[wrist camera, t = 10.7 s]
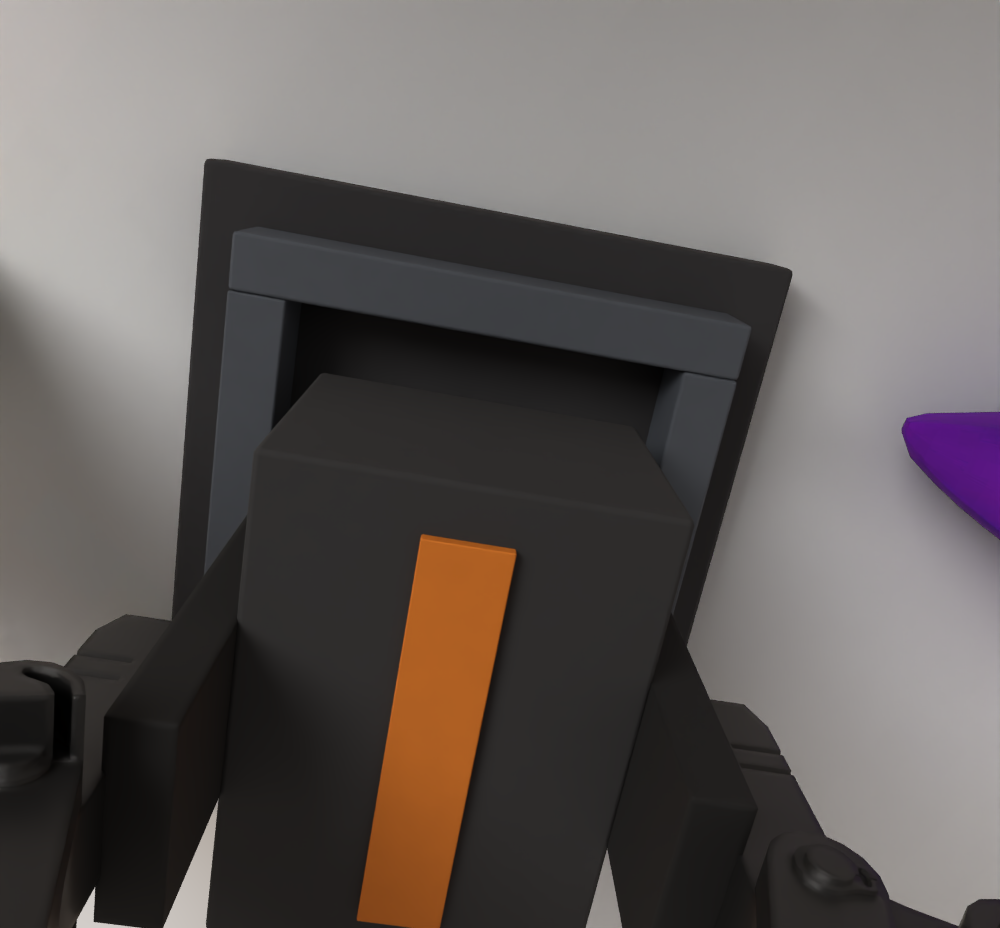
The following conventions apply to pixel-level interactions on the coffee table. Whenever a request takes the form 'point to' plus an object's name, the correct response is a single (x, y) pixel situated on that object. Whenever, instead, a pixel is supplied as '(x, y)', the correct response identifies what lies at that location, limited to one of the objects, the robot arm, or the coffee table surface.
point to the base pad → (461, 335)
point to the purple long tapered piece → (961, 459)
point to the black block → (437, 661)
